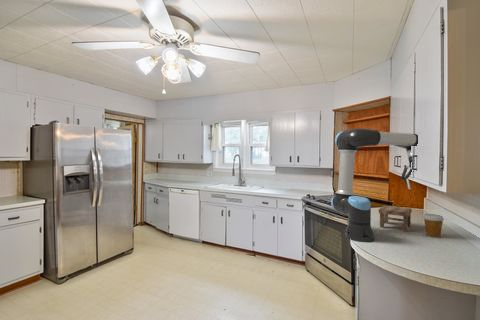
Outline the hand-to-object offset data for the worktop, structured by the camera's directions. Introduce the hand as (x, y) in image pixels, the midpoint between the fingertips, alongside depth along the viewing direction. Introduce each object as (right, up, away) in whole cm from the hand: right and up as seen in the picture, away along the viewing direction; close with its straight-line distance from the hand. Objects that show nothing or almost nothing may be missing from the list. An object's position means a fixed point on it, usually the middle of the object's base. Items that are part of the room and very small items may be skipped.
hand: (422, 187), depth 149 cm
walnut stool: (-11, -27, +9) cm, 31 cm away
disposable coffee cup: (-1, -28, -9) cm, 29 cm away
